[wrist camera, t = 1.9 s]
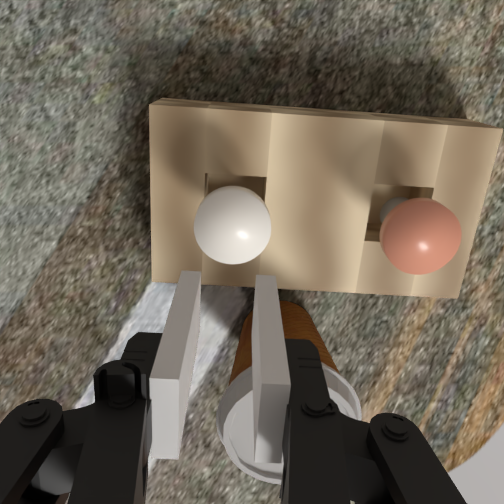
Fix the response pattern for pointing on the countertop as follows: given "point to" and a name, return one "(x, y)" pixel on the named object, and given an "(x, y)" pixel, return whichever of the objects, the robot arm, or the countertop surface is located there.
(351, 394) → the disposable coffee cup
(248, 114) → the block
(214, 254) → the white mushroom knob
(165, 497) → the countertop surface
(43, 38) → the countertop surface
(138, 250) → the countertop surface
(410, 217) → the pink round-capped knob part
